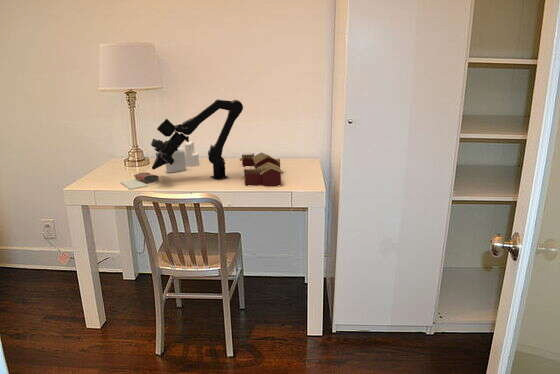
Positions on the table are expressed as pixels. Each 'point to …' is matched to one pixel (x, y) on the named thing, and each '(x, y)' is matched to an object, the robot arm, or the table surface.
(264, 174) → the toy houses
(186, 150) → the base with upright slab
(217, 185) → the table surface
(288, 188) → the table surface
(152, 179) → the lighter
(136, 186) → the mat
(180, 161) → the photo printer
